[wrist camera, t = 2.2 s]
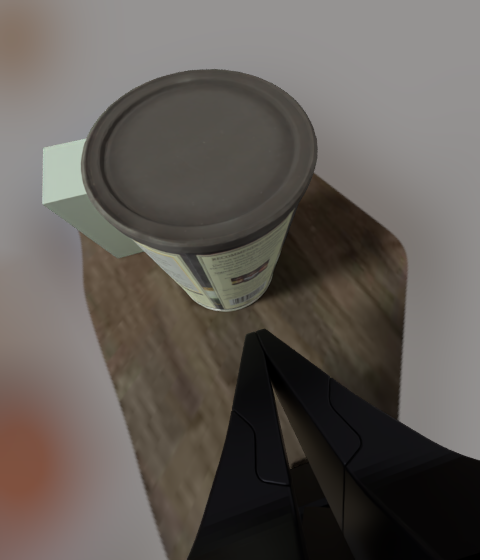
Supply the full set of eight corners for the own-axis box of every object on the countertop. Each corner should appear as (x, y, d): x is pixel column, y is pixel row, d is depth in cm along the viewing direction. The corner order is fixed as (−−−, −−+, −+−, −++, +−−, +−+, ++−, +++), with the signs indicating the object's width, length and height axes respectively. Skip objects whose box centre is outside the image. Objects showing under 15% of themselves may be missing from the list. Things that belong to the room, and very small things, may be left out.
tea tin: (166, 245, 23) (121, 185, 15) (117, 258, 23) (42, 204, 14) (158, 205, 25) (114, 131, 16) (113, 217, 24) (43, 146, 16)
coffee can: (217, 209, 25) (184, 43, 11) (291, 254, 23) (360, 116, 9) (158, 275, 22) (26, 162, 9) (236, 333, 20) (220, 301, 7)
